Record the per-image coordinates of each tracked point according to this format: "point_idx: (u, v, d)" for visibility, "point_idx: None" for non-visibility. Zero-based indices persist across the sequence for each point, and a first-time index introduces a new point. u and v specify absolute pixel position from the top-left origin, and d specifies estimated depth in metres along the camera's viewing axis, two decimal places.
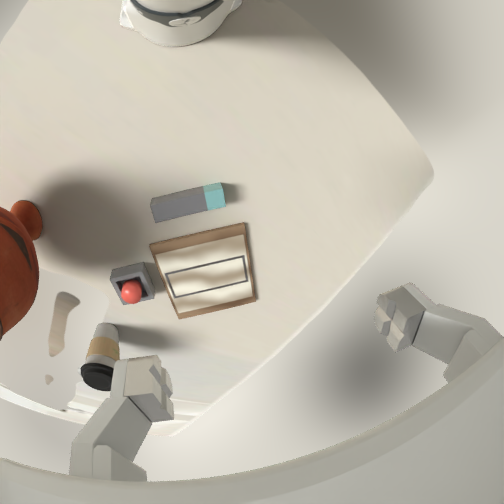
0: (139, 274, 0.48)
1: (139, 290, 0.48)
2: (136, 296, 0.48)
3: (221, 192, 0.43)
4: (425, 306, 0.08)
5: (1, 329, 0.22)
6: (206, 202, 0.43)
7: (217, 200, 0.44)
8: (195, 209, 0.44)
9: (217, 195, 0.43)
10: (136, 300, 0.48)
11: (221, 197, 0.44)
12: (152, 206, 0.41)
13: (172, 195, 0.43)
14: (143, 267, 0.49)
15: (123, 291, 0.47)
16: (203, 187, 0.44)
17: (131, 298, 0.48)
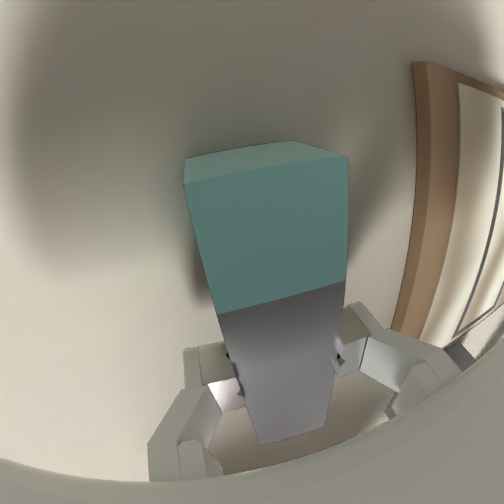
0: None
1: None
2: None
3: (219, 192, 0.05)
4: (370, 331, 0.07)
5: None
6: (291, 295, 0.06)
7: (288, 225, 0.05)
8: (319, 341, 0.07)
9: (245, 224, 0.05)
10: None
11: (265, 192, 0.05)
12: (264, 442, 0.10)
13: None
14: None
15: None
16: None
17: None
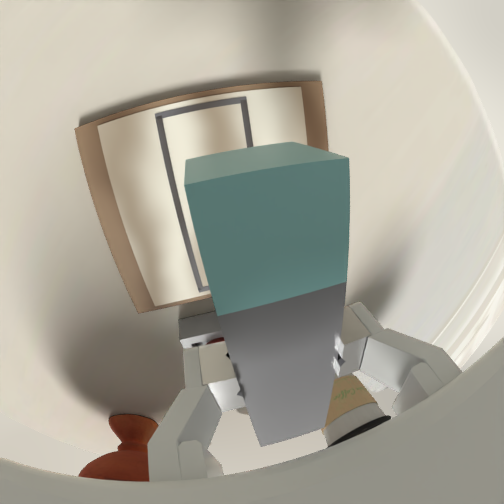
0: (186, 343, 0.25)
1: None
2: None
3: (220, 193, 0.05)
4: (370, 331, 0.07)
5: None
6: (292, 296, 0.06)
7: (290, 227, 0.05)
8: (320, 342, 0.07)
9: (246, 226, 0.05)
10: None
11: (266, 193, 0.05)
12: (264, 443, 0.10)
13: None
14: (182, 327, 0.26)
15: None
16: None
17: None
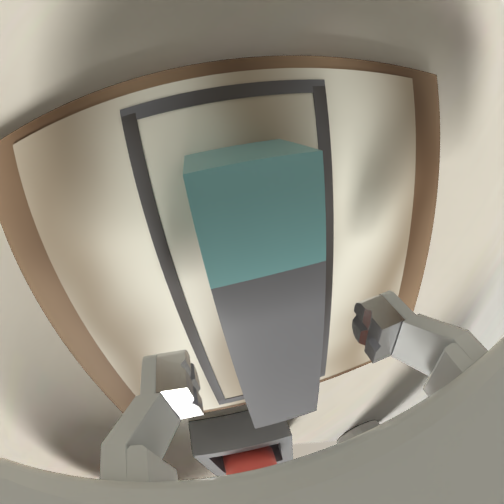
0: (203, 457, 0.15)
1: None
2: None
3: (212, 181, 0.06)
4: (403, 316, 0.08)
5: None
6: (276, 272, 0.07)
7: (271, 210, 0.06)
8: (305, 318, 0.08)
9: (234, 208, 0.06)
10: None
11: (250, 181, 0.06)
12: (258, 425, 0.11)
13: None
14: (195, 435, 0.16)
15: None
16: None
17: None
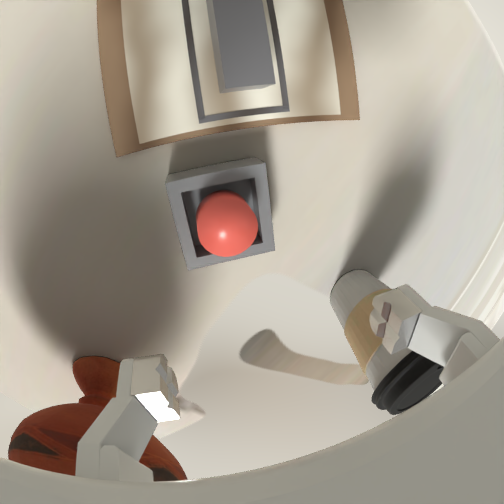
0: (175, 191, 0.18)
1: (215, 201, 0.17)
2: (230, 213, 0.17)
3: None
4: (421, 308, 0.08)
5: None
6: None
7: None
8: None
9: None
10: (246, 217, 0.18)
11: None
12: (228, 83, 0.14)
13: (214, 45, 0.14)
14: (171, 176, 0.19)
15: (209, 248, 0.18)
16: None
17: (238, 229, 0.18)
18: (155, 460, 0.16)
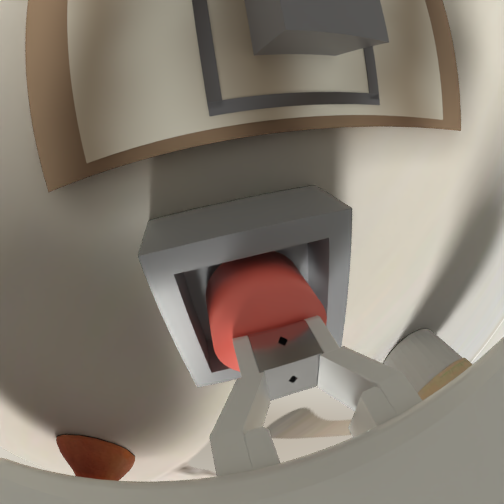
0: (161, 272, 0.08)
1: (247, 287, 0.08)
2: (280, 311, 0.08)
3: None
4: (323, 349, 0.07)
5: None
6: None
7: None
8: None
9: None
10: (307, 314, 0.09)
11: None
12: (292, 19, 0.05)
13: None
14: (154, 230, 0.09)
15: (236, 365, 0.09)
16: None
17: None
18: None
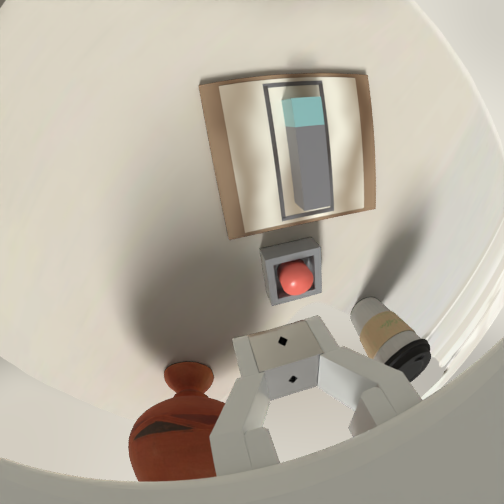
0: (270, 264, 0.32)
1: (292, 267, 0.33)
2: (300, 274, 0.33)
3: (297, 100, 0.23)
4: (323, 348, 0.07)
5: None
6: (311, 125, 0.25)
7: (309, 108, 0.24)
8: (320, 143, 0.26)
9: (301, 107, 0.24)
10: (308, 275, 0.33)
11: (305, 101, 0.23)
12: (306, 207, 0.29)
13: (294, 173, 0.29)
14: (264, 252, 0.33)
15: (287, 291, 0.33)
16: (287, 126, 0.27)
17: (303, 281, 0.33)
18: None
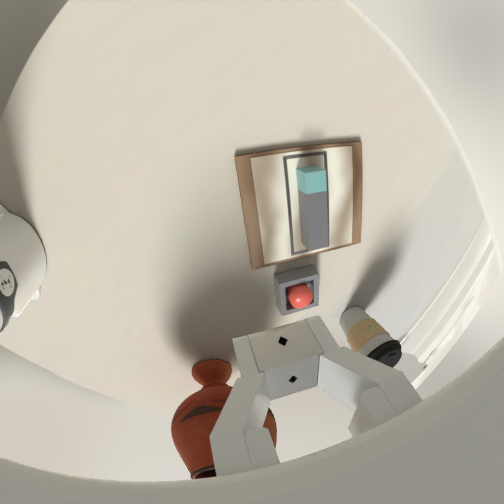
0: (282, 287, 0.44)
1: (298, 289, 0.45)
2: (304, 293, 0.45)
3: (308, 174, 0.35)
4: (323, 348, 0.07)
5: None
6: (317, 192, 0.37)
7: (317, 180, 0.36)
8: (323, 204, 0.38)
9: (311, 179, 0.35)
10: (309, 294, 0.45)
11: (314, 174, 0.35)
12: (310, 249, 0.41)
13: (302, 223, 0.41)
14: (278, 278, 0.45)
15: (294, 305, 0.45)
16: (299, 189, 0.38)
17: (306, 298, 0.45)
18: None
